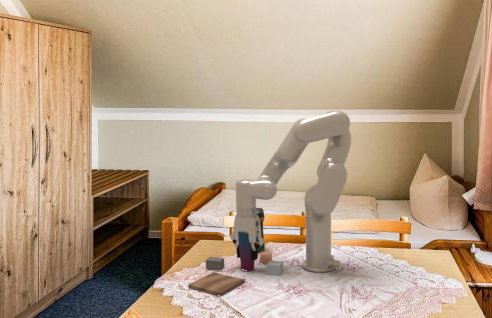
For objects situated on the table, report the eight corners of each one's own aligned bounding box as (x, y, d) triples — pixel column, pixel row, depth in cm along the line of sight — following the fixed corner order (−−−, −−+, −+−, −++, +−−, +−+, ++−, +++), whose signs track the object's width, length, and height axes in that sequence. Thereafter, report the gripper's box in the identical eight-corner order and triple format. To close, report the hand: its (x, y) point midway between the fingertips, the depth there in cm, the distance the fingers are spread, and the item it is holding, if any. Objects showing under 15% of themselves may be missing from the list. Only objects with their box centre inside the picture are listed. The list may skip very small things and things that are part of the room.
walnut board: (244, 282, 166) (244, 279, 165) (220, 296, 154) (220, 292, 154) (213, 275, 174) (213, 272, 173) (188, 287, 162) (188, 284, 162)
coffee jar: (243, 253, 199) (242, 210, 196) (242, 248, 206) (241, 206, 204) (266, 252, 199) (265, 209, 197) (264, 247, 207) (263, 205, 205)
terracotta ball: (274, 262, 187) (274, 252, 187) (267, 265, 183) (267, 255, 183) (263, 260, 190) (263, 250, 189) (257, 263, 186) (257, 253, 185)
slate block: (283, 271, 176) (283, 261, 176) (279, 276, 172) (279, 265, 171) (270, 270, 178) (270, 260, 178) (266, 275, 173) (266, 264, 173)
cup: (254, 272, 175) (253, 233, 174) (236, 271, 177) (235, 232, 175) (257, 266, 182) (257, 228, 180) (240, 265, 183) (239, 228, 182)
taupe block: (224, 268, 182) (224, 258, 181) (220, 271, 178) (220, 261, 177) (209, 266, 184) (209, 256, 183) (205, 270, 180) (205, 260, 179)
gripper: (271, 212, 175) (271, 259, 177) (233, 207, 185) (234, 252, 187) (260, 216, 169) (261, 265, 171) (222, 211, 179) (223, 257, 181)
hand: (247, 258), depth 179 cm, fingers closed on cup, 6 cm apart
